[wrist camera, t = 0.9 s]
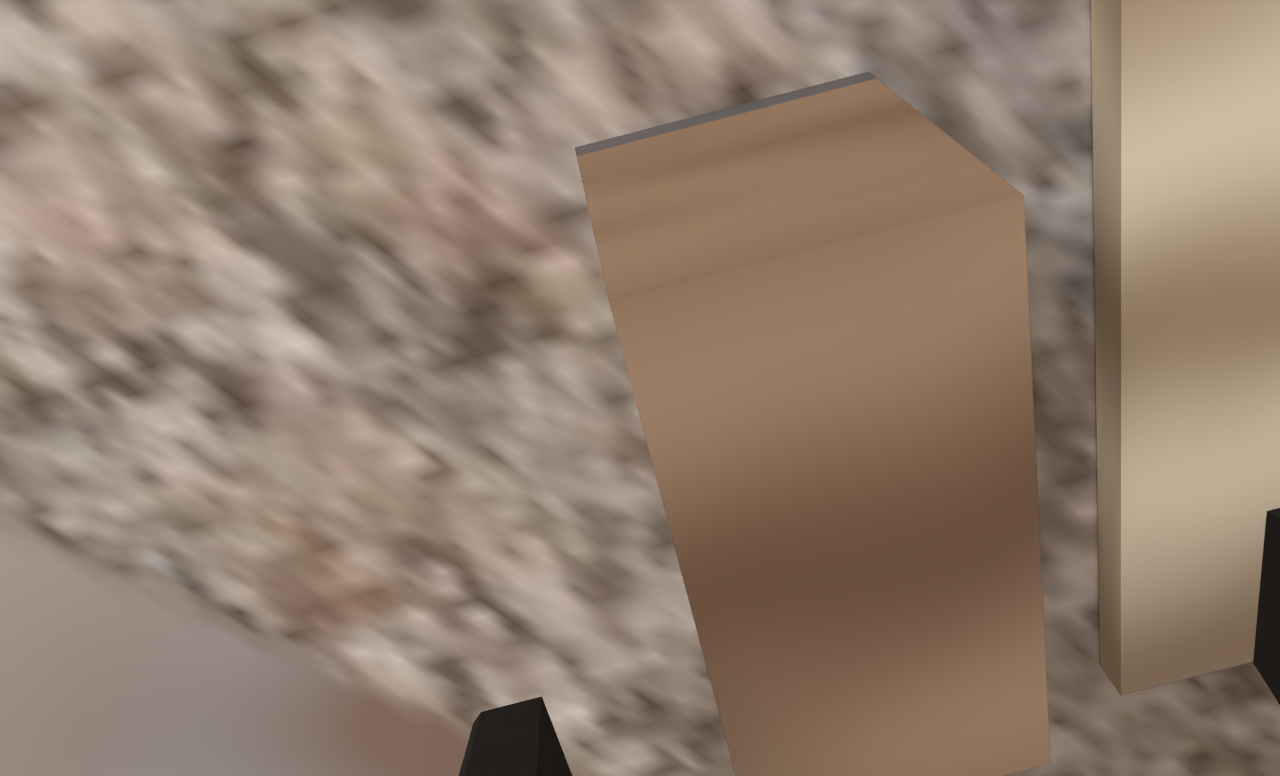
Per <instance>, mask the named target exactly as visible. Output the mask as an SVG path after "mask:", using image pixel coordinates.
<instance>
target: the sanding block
mask: <svg viewBox="0 0 1280 776" xmlns="http://www.w3.org/2000/svg"><path fill="white" fill-rule="evenodd" d="M575 151H576V155H577V160H578V164H579V168H580V173H581V177H582V182H583V186H584V191H585V195H586V200H587V204H588V209H589V213H590V218H591V222H592V227H593V231H594V235H595V240H596V244H597V249H598V253H599V258H600V262H601V267H602V271H603V276H604V280H605V285H606V289H607V294H608V298H609V302H610V306H611V310H612V314H613V317H614V321H615V325H616V329H617V332H618V336H619V340H620V344H621V347H622V351H623V355H624V359H625V362H626V366H627V370H628V374H629V377H630V381H631V385H632V389H633V392H634V396H635V400H636V404H637V407H638V411H639V415H640V419H641V422H642V426H643V430H644V434H645V437H646V441H647V445H648V449H649V452H650V456H651V460H652V464H653V467H654V471H655V475H656V479H657V482H658V486H659V490H660V494H661V497H662V501H663V505H664V509H665V512H666V516H667V520H668V524H669V527H670V531H671V535H672V539H673V542H674V546H675V550H676V554H677V557H678V561H679V565H680V569H681V572H682V576H683V580H684V584H685V587H686V591H687V595H688V599H689V602H690V606H691V610H692V614H693V617H694V621H695V625H696V629H697V632H698V636H699V640H700V644H701V647H702V651H703V655H704V659H705V662H706V666H707V670H708V674H709V677H710V681H711V685H712V689H713V692H714V696H715V700H716V704H717V707H718V711H719V715H720V719H721V722H722V726H723V730H724V734H725V737H726V741H727V745H728V749H729V752H730V756H731V760H732V764H733V767H734V771H735V775H736V776H1005V775H1009V774H1013V773H1017V772H1021V771H1025V770H1028V769H1032V768H1036V767H1040V766H1044V765H1048V764H1051V763H1050V741H1049V720H1048V699H1047V678H1046V656H1045V635H1044V614H1043V593H1042V571H1041V550H1040V529H1039V508H1038V487H1037V465H1036V444H1035V423H1034V402H1033V380H1032V359H1031V338H1030V317H1029V296H1028V274H1027V253H1026V232H1025V211H1024V195H1023V194H1021V193H1020V192H1019V191H1018V190H1016V189H1015V188H1014V187H1013V186H1011V185H1010V184H1009V183H1008V182H1006V181H1005V180H1004V179H1003V178H1001V177H1000V176H999V175H997V174H996V173H995V172H994V171H992V170H991V169H990V168H989V167H987V166H986V165H985V164H984V163H982V162H981V161H980V160H979V159H977V158H976V157H975V156H974V155H972V154H971V153H970V152H969V151H967V150H966V149H965V148H964V147H962V146H961V145H960V144H959V143H957V142H956V141H955V140H953V139H952V138H951V137H950V136H948V135H947V134H946V133H945V132H943V131H942V130H941V129H940V128H938V127H937V126H936V125H935V124H933V123H932V122H931V121H930V120H928V119H927V118H926V117H925V116H923V115H922V114H921V113H920V112H918V111H917V110H916V109H915V108H913V107H912V106H911V105H909V104H908V103H907V102H906V101H904V100H903V99H902V98H901V97H899V96H898V95H897V94H896V93H894V92H893V91H892V90H891V89H889V88H888V87H887V86H886V85H884V84H883V83H882V82H881V81H879V80H878V79H877V78H876V77H874V76H873V75H872V74H871V73H869V72H866V73H862V74H858V75H854V76H850V77H846V78H842V79H839V80H835V81H831V82H827V83H823V84H819V85H815V86H811V87H808V88H804V89H800V90H796V91H792V92H788V93H784V94H781V95H777V96H773V97H769V98H765V99H761V100H757V101H753V102H750V103H746V104H742V105H738V106H734V107H730V108H726V109H723V110H719V111H715V112H711V113H707V114H703V115H699V116H695V117H692V118H688V119H684V120H680V121H676V122H672V123H668V124H665V125H661V126H657V127H653V128H649V129H645V130H641V131H637V132H634V133H630V134H626V135H622V136H618V137H614V138H610V139H607V140H603V141H599V142H595V143H591V144H587V145H583V146H579V147H576V148H575Z"/></svg>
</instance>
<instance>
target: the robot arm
mask: <svg viewBox="0 0 1280 776" xmlns="http://www.w3.org/2000/svg"><path fill="white" fill-rule="evenodd" d="M1253 663H1254V665H1255V666H1256V668H1257V669H1258V671H1259V673H1260V674H1261V676H1262V677H1263V679H1264V681H1265V682H1266V684H1267V685H1268V687H1269V688H1270V690H1271V692H1272V693H1273V695H1274V696H1275V698H1276V700H1277V701H1278V703H1279V704H1280V508H1277V509H1273V510H1269V511H1267V513H1266V524H1265V535H1264V547H1263V558H1262V569H1261V580H1260V591H1259V602H1258V613H1257V624H1256V635H1255V646H1254V657H1253ZM459 776H572V774H571V771H570V769H569V766H568V764H567V761H566V758H565V756H564V753H563V751H562V748H561V745H560V743H559V740H558V738H557V735H556V733H555V730H554V727H553V725H552V722H551V720H550V717H549V714H548V712H547V709H546V707H545V704H544V701H543V699H542V697H538V698H535V699H531V700H527V701H523V702H519V703H515V704H511V705H507V706H503V707H499V708H495V709H492V710H488V711H484V712H481V713H480V714H479V716H478V717H477V719H476V720H475V721H474V723H473V726H472V730H471V734H470V738H469V741H468V745H467V749H466V752H465V756H464V759H463V763H462V766H461V770H460V774H459Z"/></svg>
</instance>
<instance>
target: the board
mask: <svg viewBox="0 0 1280 776" xmlns="http://www.w3.org/2000/svg"><path fill="white" fill-rule="evenodd" d="M1091 45H1092V120H1093V196H1094V271H1095V347H1096V422H1097V498H1098V573H1099V649H1100V665H1101V666H1102V668H1103V669H1104V671H1105V672H1106V674H1107V675H1108V677H1109V678H1110V680H1111V681H1112V683H1113V684H1114V686H1115V687H1116V688H1117V690H1118V691H1119V693H1120V694H1121V695H1123V694H1127V693H1131V692H1135V691H1139V690H1143V689H1147V688H1151V687H1155V686H1159V685H1163V684H1167V683H1171V682H1175V681H1179V680H1183V679H1187V678H1190V677H1194V676H1198V675H1202V674H1206V673H1210V672H1214V671H1218V670H1222V669H1226V668H1230V667H1234V666H1238V665H1242V664H1246V663H1250V662H1253V657H1254V646H1255V635H1256V624H1257V613H1258V602H1259V591H1260V580H1261V569H1262V558H1263V547H1264V535H1265V524H1266V513H1267V511H1269V510H1273V509H1277V508H1280V0H1091Z"/></svg>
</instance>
